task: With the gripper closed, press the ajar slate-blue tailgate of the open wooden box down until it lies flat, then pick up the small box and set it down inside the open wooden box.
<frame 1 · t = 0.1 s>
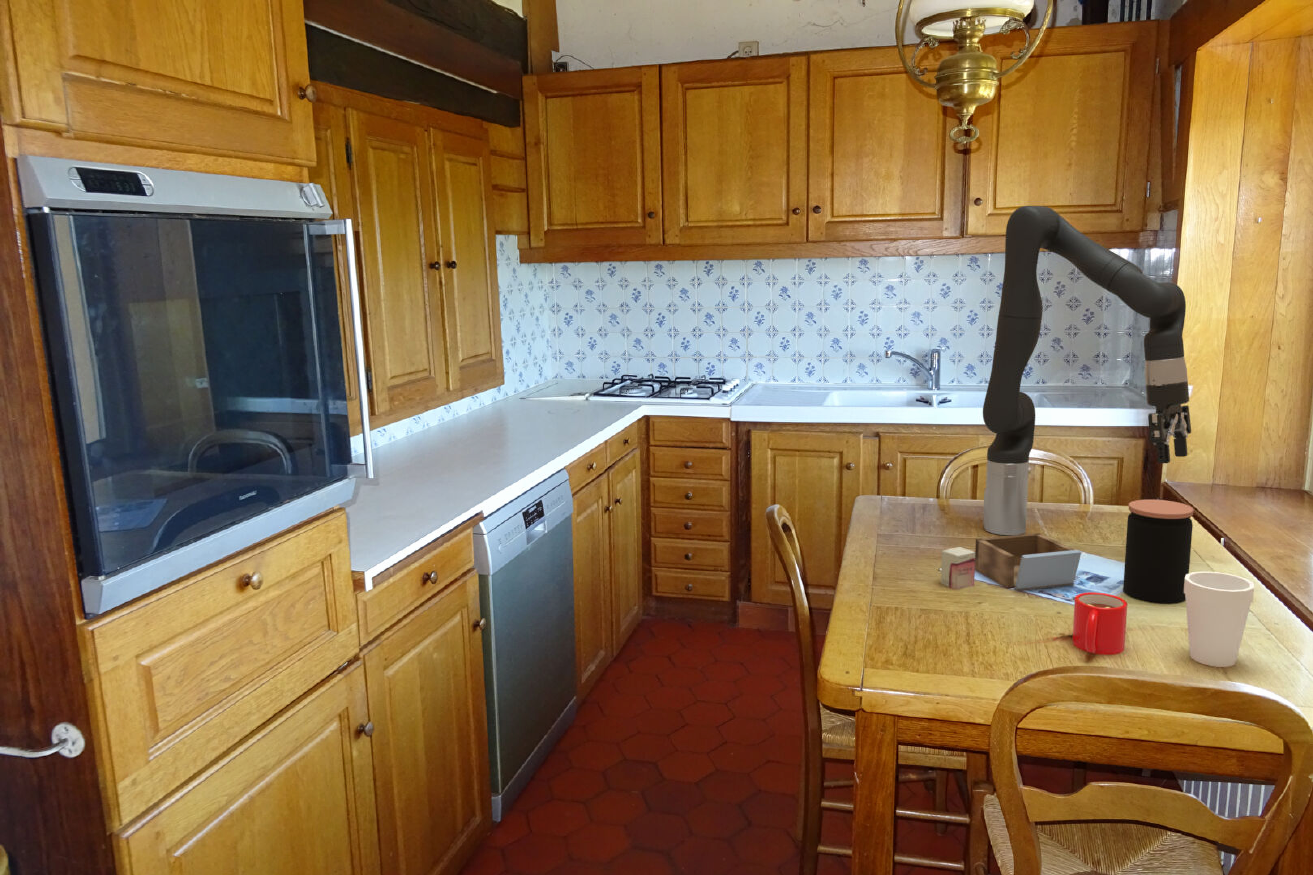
hand: (1172, 459, 187), 22 cm above the table, tool pointing down, fingers open, 8 cm apart
mug: (1096, 650, 151), on the table
tailgate: (1047, 571, 176), point 4 cm above the table, hinge at 15.0°
open wooden box: (1022, 580, 184), on the table
coffee jar: (1154, 599, 172), on the table
small box: (957, 590, 181), on the table
foam cup: (1212, 659, 146), on the table
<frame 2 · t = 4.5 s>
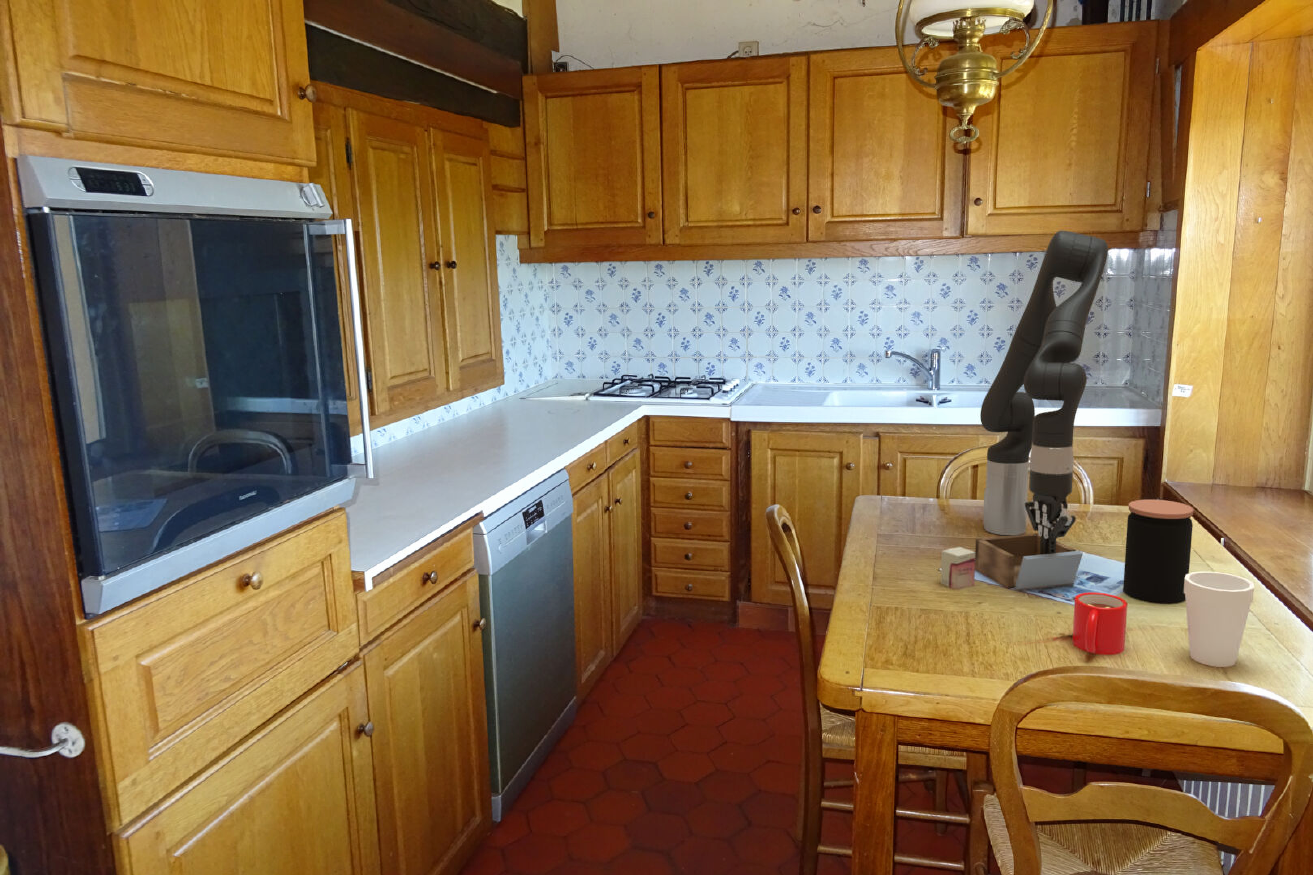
hand: (1047, 555, 176), 7 cm above the table, tool pointing down, fingers closed
tailgate: (1048, 572, 176), point 4 cm above the table, hinge at 18.3°, touching gripper
everything else where it was.
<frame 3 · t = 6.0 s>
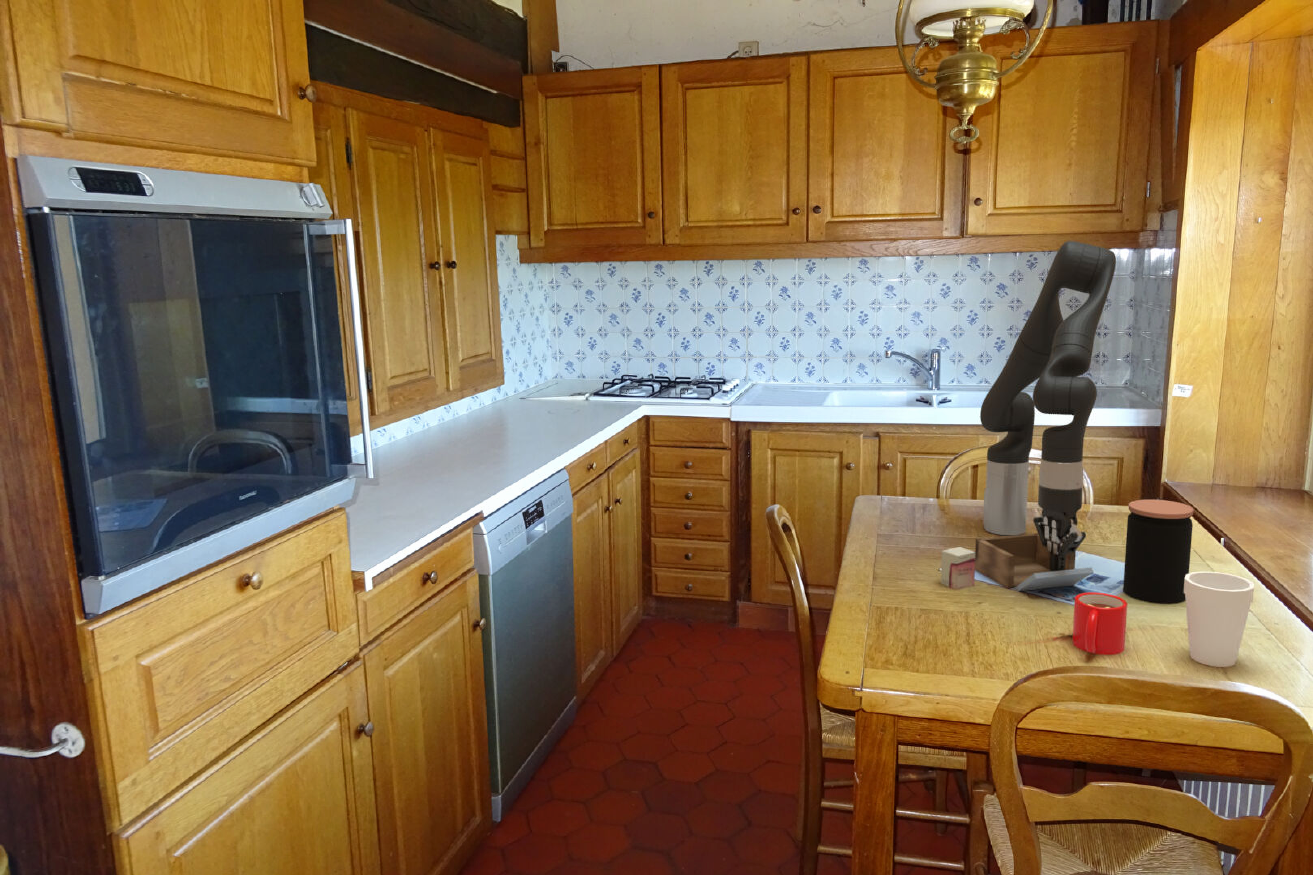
hand: (1056, 571, 173), 5 cm above the table, tool pointing down, fingers closed
tailgate: (1053, 580, 174), point 3 cm above the table, hinge at 51.0°, touching gripper
everything else where it was.
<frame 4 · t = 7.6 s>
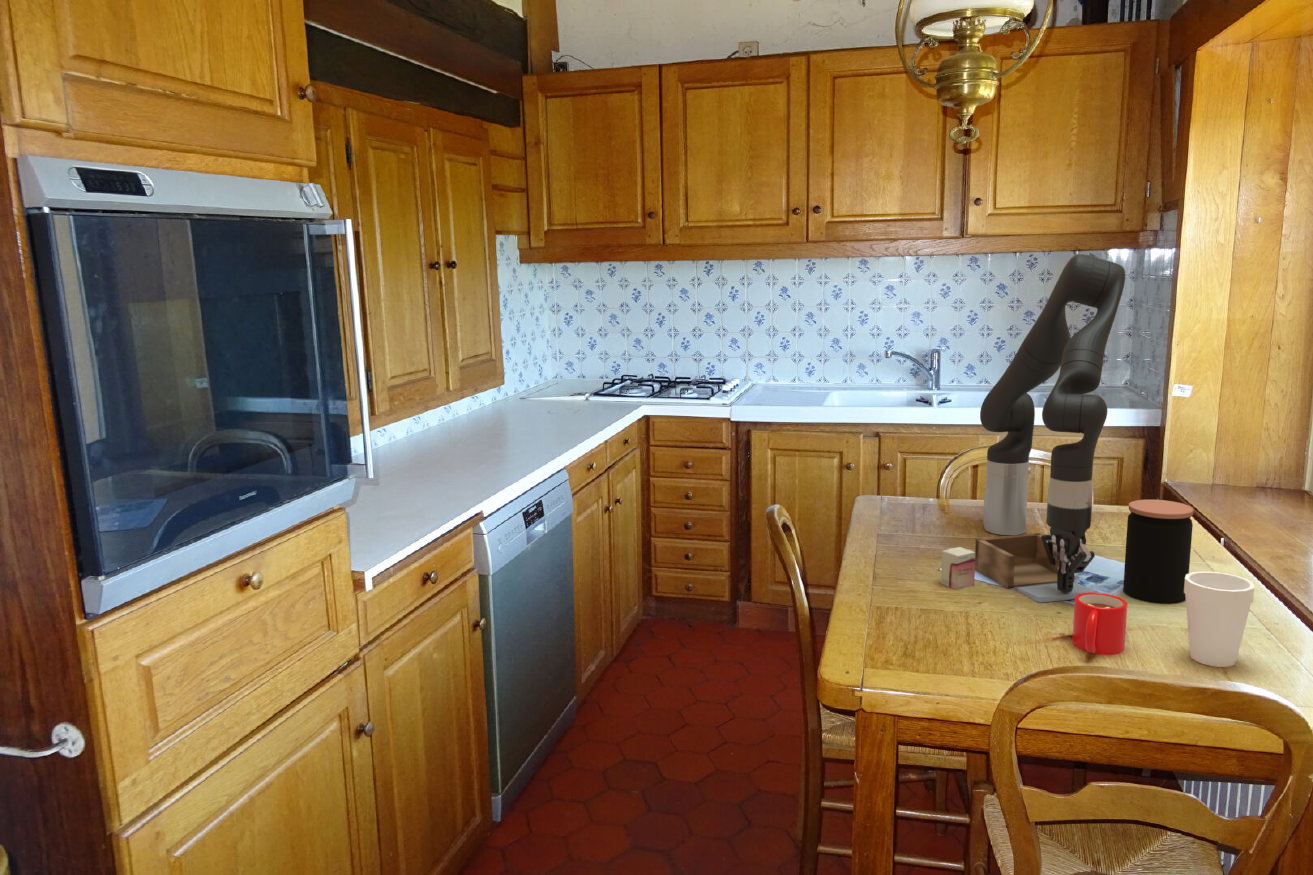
hand: (1064, 590, 171), 2 cm above the table, tool pointing down, fingers closed
tailgate: (1055, 591, 174), point 1 cm above the table, hinge at 85.6°
everything else where it was.
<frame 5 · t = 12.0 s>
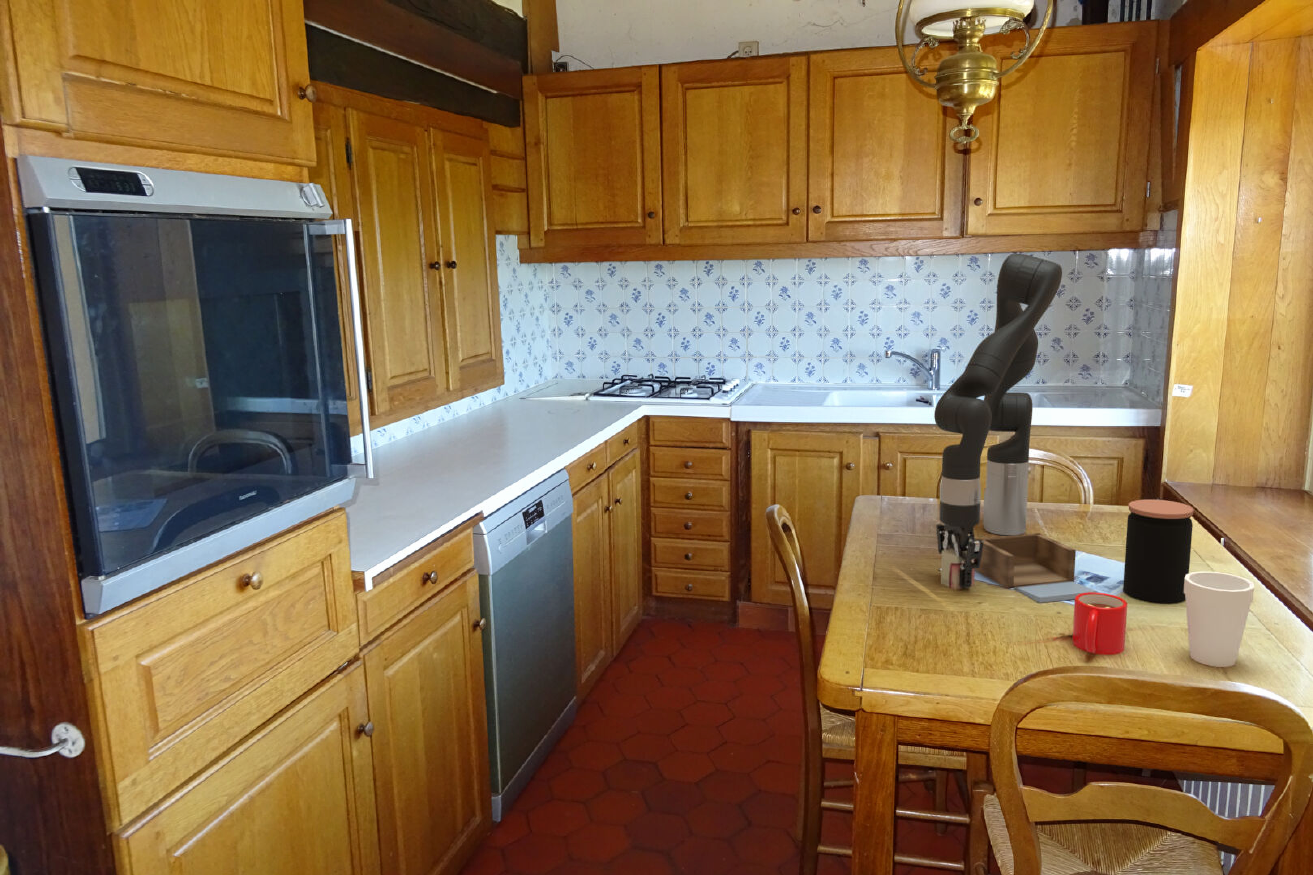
hand: (957, 581, 180), 1 cm above the table, tool pointing down, fingers closed on small box, 5 cm apart
small box: (957, 589, 181), on the table, touching gripper
everything else where it was.
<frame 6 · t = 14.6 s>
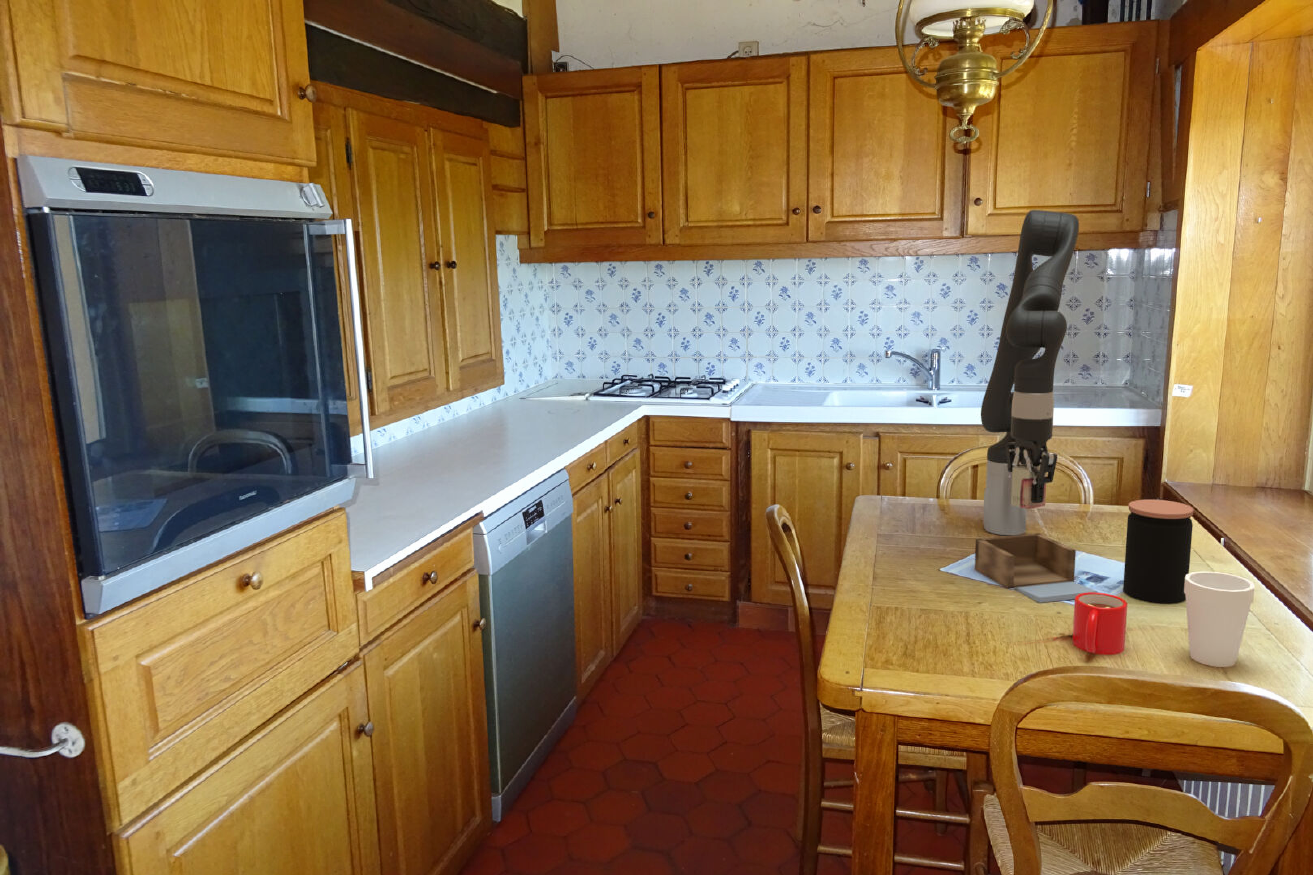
hand: (1028, 498, 180), 17 cm above the table, tool pointing down, fingers closed on small box, 5 cm apart
small box: (1028, 506, 181), point 15 cm above the table, touching gripper
everything else where it was.
when the fingers open (5 cm above the table, at t = 17.3 s): small box drops 2 cm, resting on open wooden box.
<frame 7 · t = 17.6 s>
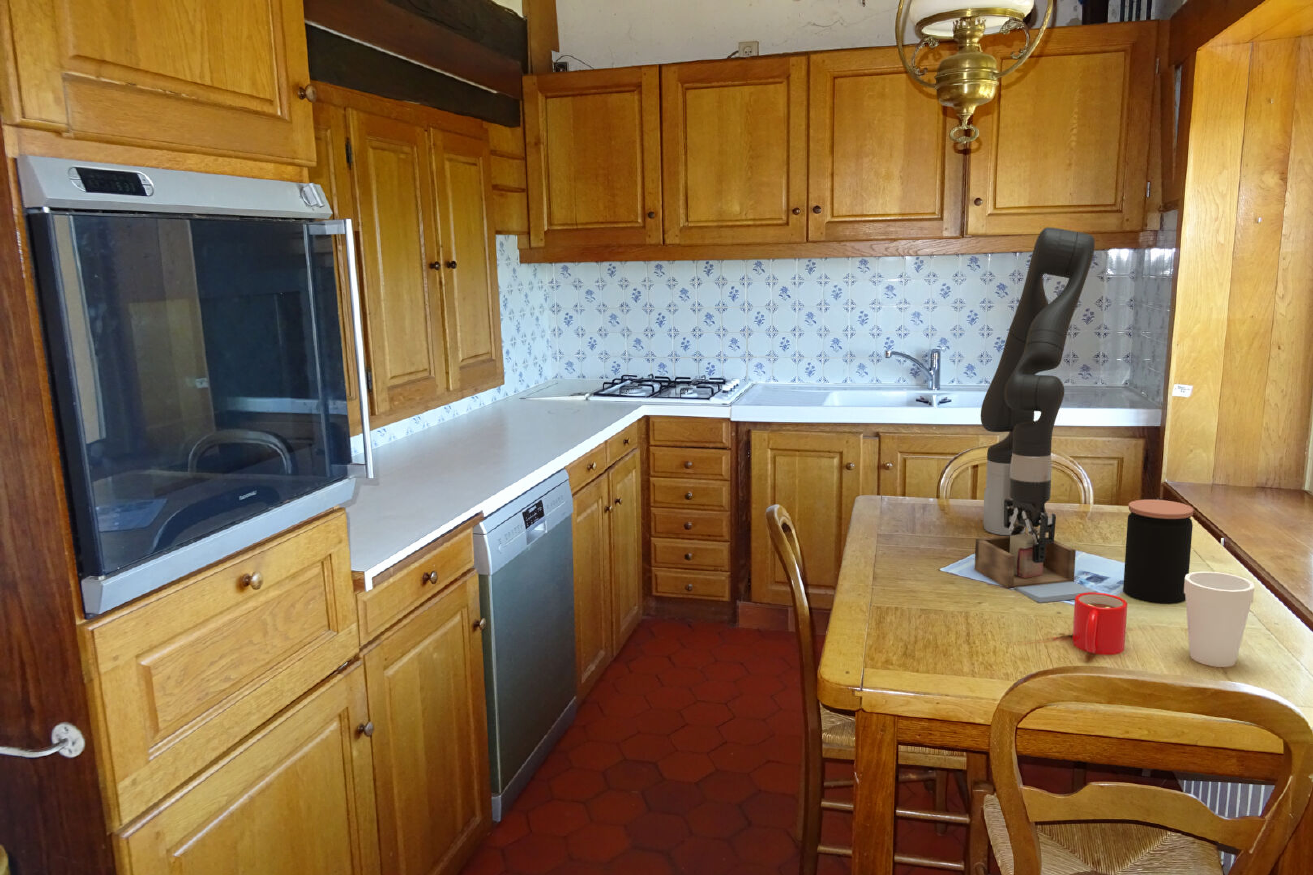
hand: (1026, 556, 182), 5 cm above the table, tool pointing down, fingers open, 7 cm apart
small box: (1025, 575, 183), point 1 cm above the table, touching open wooden box
everything else where it was.
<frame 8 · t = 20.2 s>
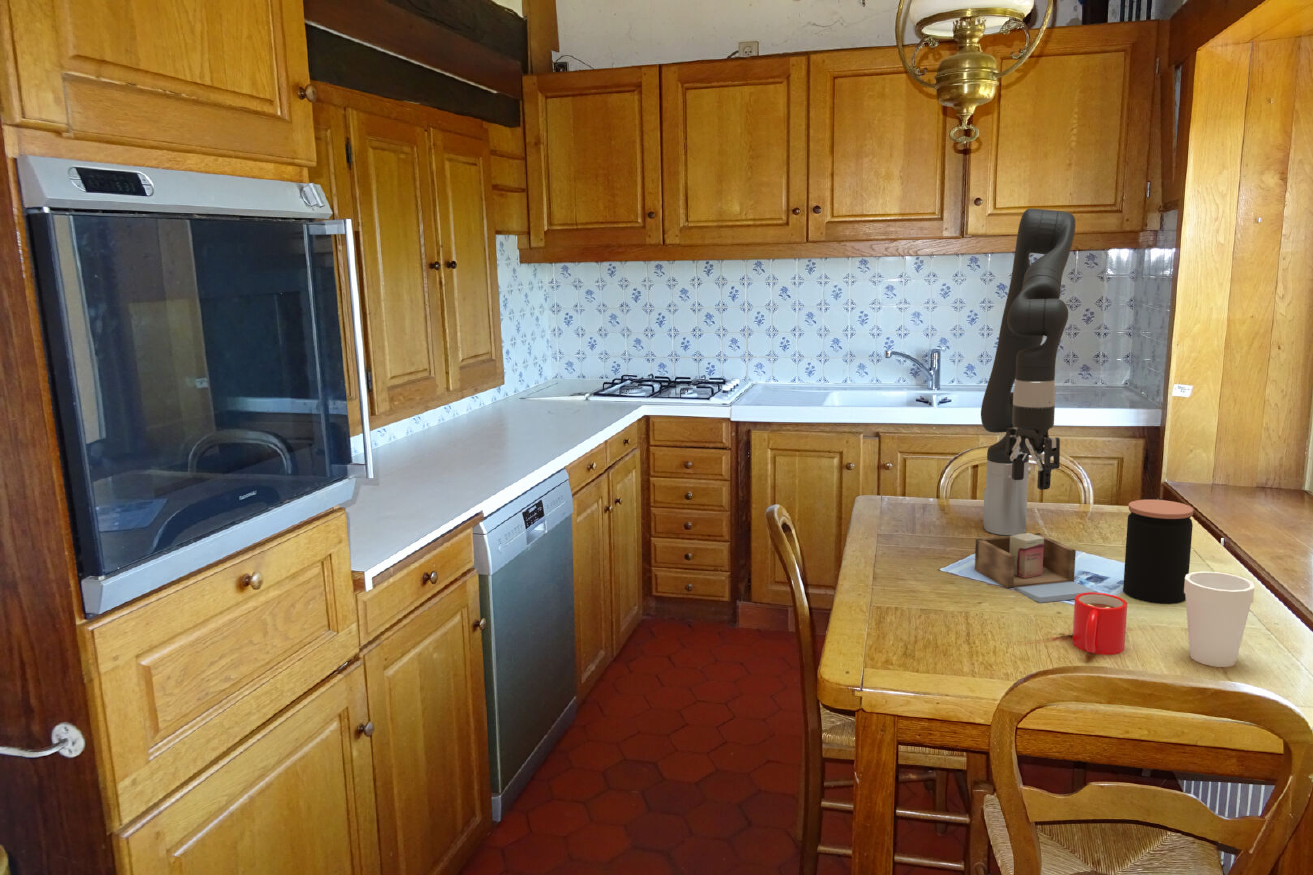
hand: (1030, 484, 180), 20 cm above the table, tool pointing down, fingers open, 8 cm apart
nothing on the table moved.
at the end: tailgate at +86° (first picture: +15°); small box inside the target area on the open wooden box (0.3 cm from its centre), point 1.3 cm above the open wooden box's base; small box tilted 0° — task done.
